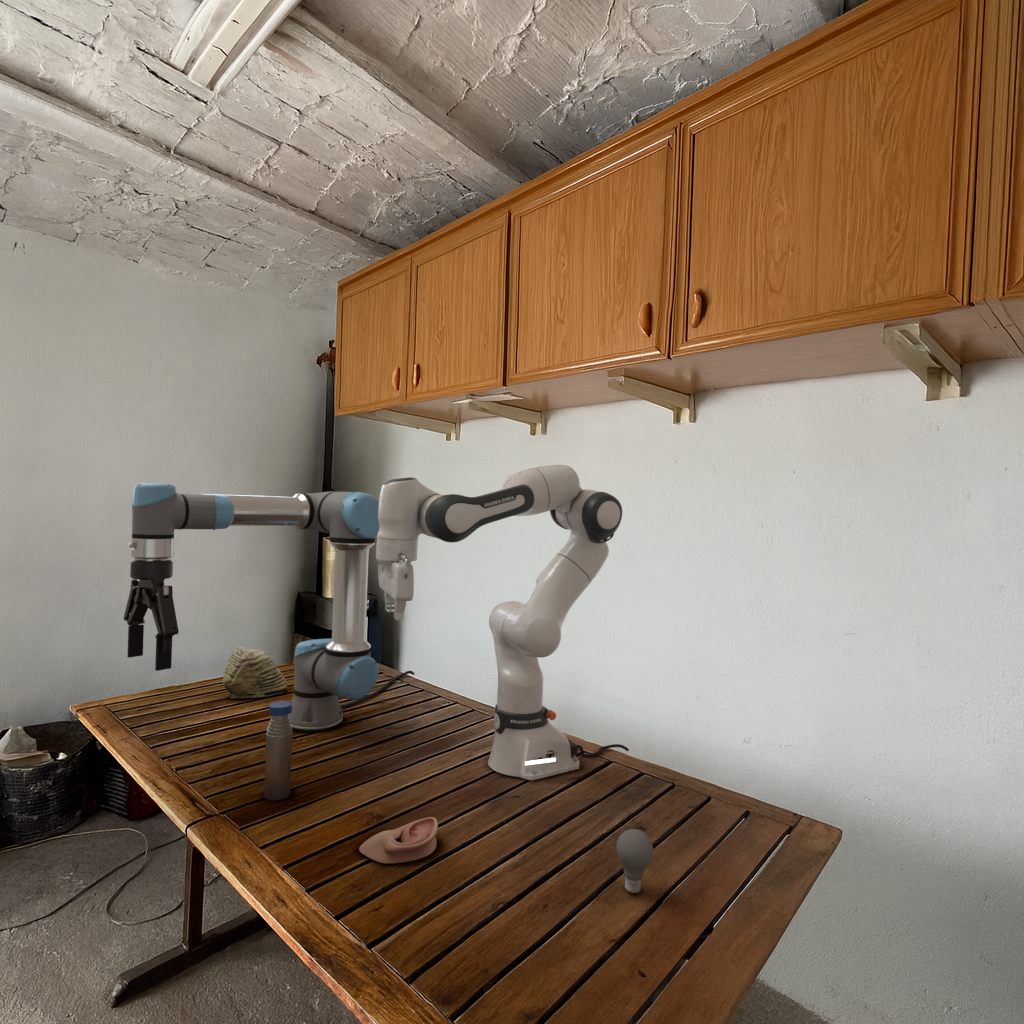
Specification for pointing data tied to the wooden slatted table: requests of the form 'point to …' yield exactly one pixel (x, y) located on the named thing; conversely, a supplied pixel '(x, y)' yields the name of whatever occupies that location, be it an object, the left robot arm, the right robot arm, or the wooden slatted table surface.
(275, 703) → the cap
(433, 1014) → the wooden slatted table surface
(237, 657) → the fossil
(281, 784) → the bottle
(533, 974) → the wooden slatted table surface
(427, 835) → the anatomical model
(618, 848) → the light bulb
